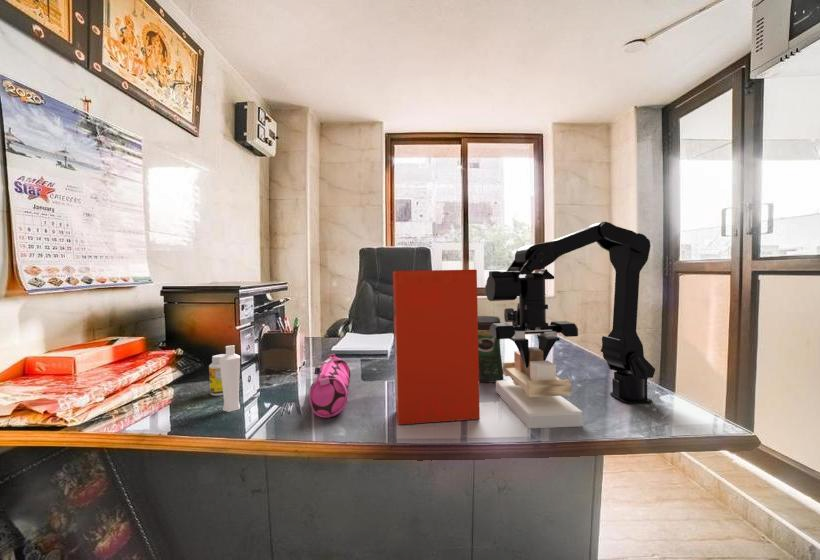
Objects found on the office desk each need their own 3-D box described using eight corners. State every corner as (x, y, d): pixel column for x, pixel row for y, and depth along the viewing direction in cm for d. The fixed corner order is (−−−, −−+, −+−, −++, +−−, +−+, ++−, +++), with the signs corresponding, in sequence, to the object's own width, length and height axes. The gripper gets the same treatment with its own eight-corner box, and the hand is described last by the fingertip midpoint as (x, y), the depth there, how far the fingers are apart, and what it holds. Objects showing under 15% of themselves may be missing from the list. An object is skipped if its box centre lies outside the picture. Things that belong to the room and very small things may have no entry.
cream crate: (547, 378, 79) (547, 360, 79) (556, 383, 75) (555, 365, 75) (530, 379, 78) (529, 361, 78) (537, 384, 74) (537, 365, 74)
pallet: (537, 372, 90) (537, 341, 90) (571, 395, 73) (570, 356, 73) (503, 373, 90) (502, 342, 90) (529, 397, 73) (528, 358, 73)
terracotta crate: (530, 366, 89) (529, 350, 89) (536, 371, 85) (536, 354, 85) (514, 367, 88) (514, 351, 88) (520, 371, 84) (520, 355, 84)
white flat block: (537, 390, 93) (537, 379, 93) (582, 426, 71) (582, 411, 71) (496, 391, 92) (495, 380, 92) (528, 428, 70) (528, 413, 70)
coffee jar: (502, 375, 107) (501, 314, 106) (503, 383, 99) (502, 317, 99) (470, 374, 109) (469, 314, 108) (468, 382, 101) (467, 317, 101)
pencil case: (315, 390, 97) (314, 354, 97) (350, 387, 99) (349, 352, 99) (305, 422, 76) (304, 375, 76) (351, 418, 78) (350, 372, 78)
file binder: (395, 410, 81) (392, 271, 81) (468, 406, 83) (466, 270, 83) (398, 425, 73) (395, 270, 72) (479, 420, 75) (477, 269, 75)
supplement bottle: (211, 391, 98) (210, 354, 97) (233, 388, 100) (232, 352, 100) (208, 397, 92) (207, 358, 92) (232, 394, 95) (231, 356, 94)
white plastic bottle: (238, 403, 88) (237, 343, 87) (245, 408, 85) (243, 345, 84) (218, 408, 84) (216, 346, 84) (224, 413, 81) (222, 348, 81)
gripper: (555, 296, 90) (556, 357, 90) (483, 298, 89) (484, 360, 89) (578, 299, 79) (579, 369, 79) (496, 301, 78) (497, 372, 78)
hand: (533, 367), depth 82 cm, fingers closed on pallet, 3 cm apart
